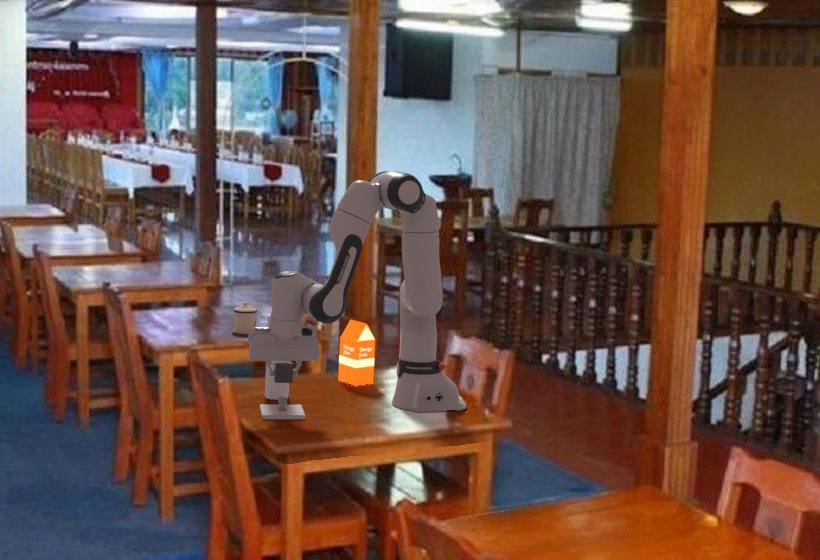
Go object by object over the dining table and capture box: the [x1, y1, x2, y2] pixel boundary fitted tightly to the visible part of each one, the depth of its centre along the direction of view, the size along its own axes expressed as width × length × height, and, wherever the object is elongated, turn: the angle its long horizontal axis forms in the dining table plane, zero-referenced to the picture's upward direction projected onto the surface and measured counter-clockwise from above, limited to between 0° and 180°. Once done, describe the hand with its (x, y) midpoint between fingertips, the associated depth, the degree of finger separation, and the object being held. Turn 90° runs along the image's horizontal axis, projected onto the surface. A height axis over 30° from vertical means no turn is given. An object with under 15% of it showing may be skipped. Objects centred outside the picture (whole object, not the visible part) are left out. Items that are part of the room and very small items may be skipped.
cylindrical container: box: [264, 313, 291, 401], centre depth 363 cm, size 7×7×25 cm
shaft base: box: [259, 397, 306, 420], centre depth 345 cm, size 12×12×5 cm
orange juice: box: [337, 319, 376, 387], centre depth 388 cm, size 8×9×20 cm
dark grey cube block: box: [274, 361, 294, 384], centre depth 344 cm, size 5×5×5 cm
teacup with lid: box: [232, 301, 258, 335], centre depth 463 cm, size 12×9×12 cm
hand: (283, 375), depth 344 cm, fingers closed on dark grey cube block, 5 cm apart
